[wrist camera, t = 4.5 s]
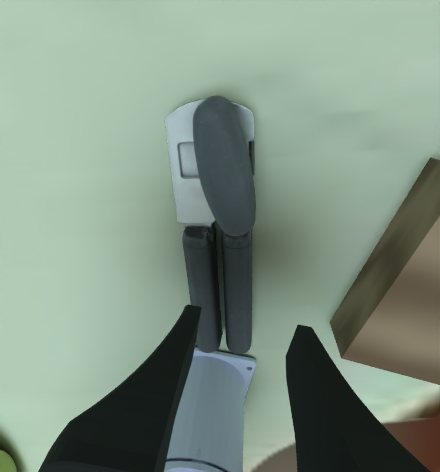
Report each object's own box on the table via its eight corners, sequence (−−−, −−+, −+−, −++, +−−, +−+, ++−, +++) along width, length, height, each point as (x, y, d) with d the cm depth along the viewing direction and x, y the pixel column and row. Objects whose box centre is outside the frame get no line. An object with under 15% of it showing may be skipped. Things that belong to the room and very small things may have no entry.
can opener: (169, 94, 18) (133, 103, 13) (254, 89, 18) (257, 97, 12) (197, 330, 27) (183, 396, 21) (254, 331, 26) (255, 400, 21)
